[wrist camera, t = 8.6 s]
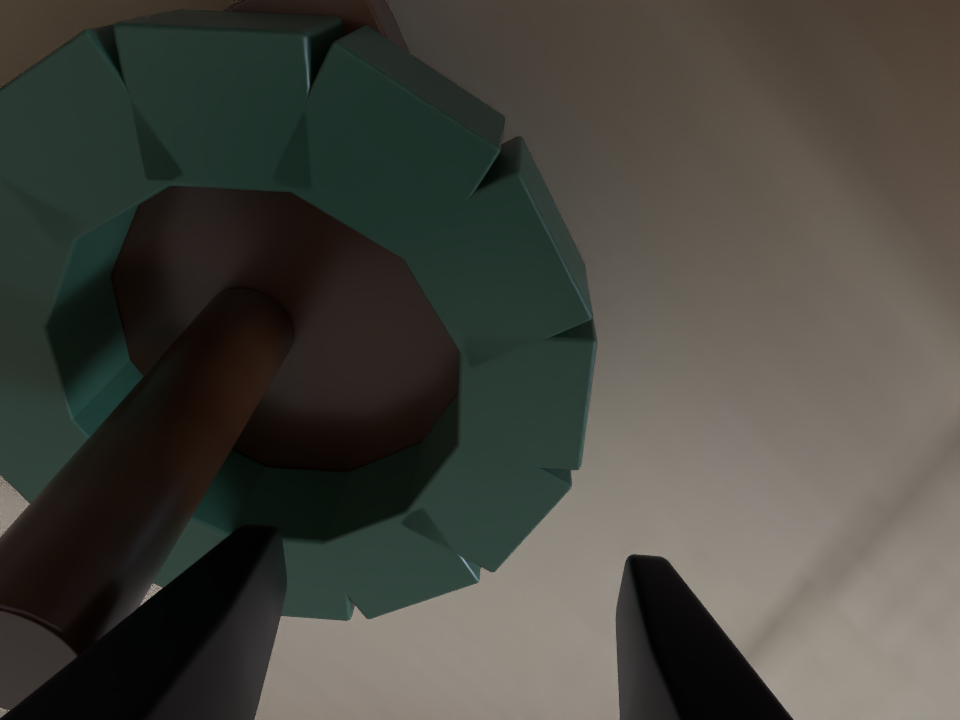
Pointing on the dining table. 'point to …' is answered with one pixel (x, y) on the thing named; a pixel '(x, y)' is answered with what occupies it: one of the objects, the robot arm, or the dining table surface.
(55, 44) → the dining table surface
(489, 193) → the ring
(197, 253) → the peg stand
